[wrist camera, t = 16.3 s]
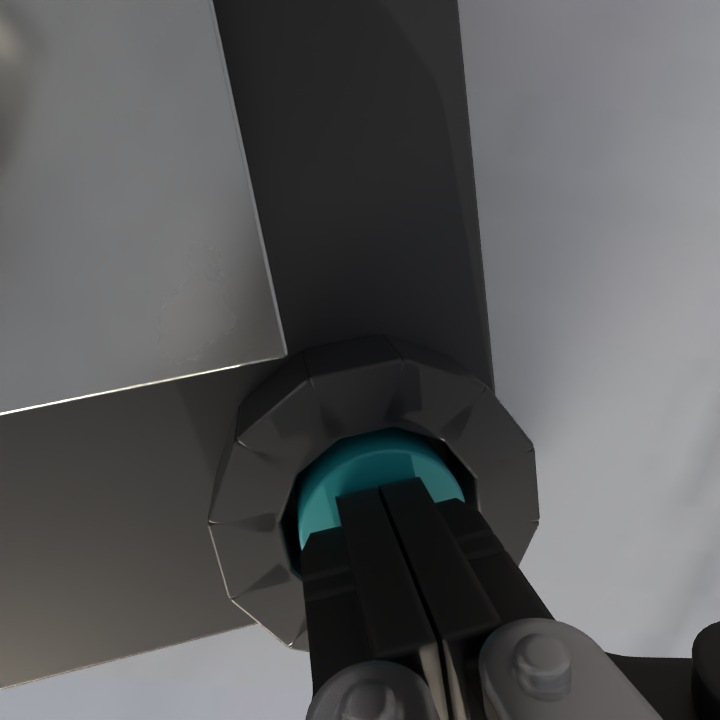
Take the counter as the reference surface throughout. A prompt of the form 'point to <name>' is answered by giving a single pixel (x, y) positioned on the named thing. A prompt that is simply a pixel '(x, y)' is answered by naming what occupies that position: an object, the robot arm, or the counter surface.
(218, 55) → the pan
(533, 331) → the counter surface
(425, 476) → the tare button
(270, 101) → the scale
